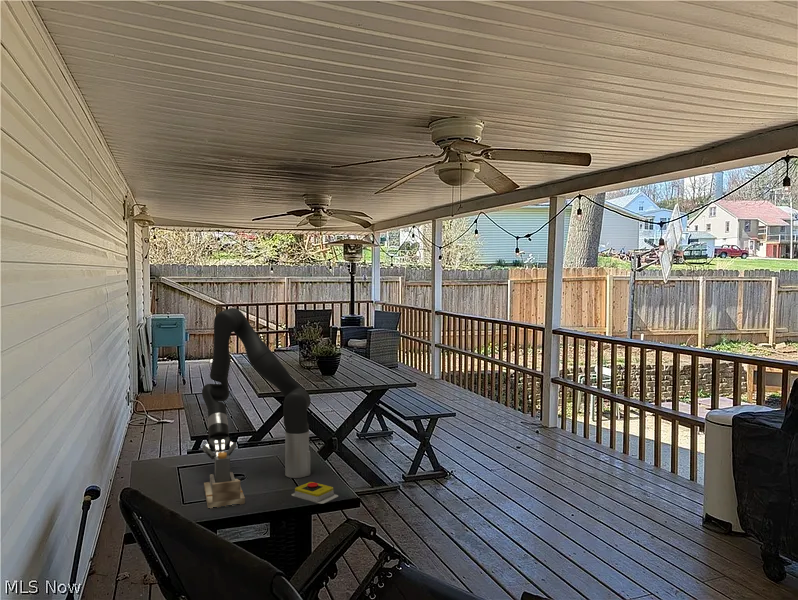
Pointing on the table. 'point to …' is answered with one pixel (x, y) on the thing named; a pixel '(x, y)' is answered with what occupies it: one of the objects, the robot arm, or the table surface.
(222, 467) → the orange-capped grey pillar
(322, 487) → the emergency button
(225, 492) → the track
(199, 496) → the table surface
